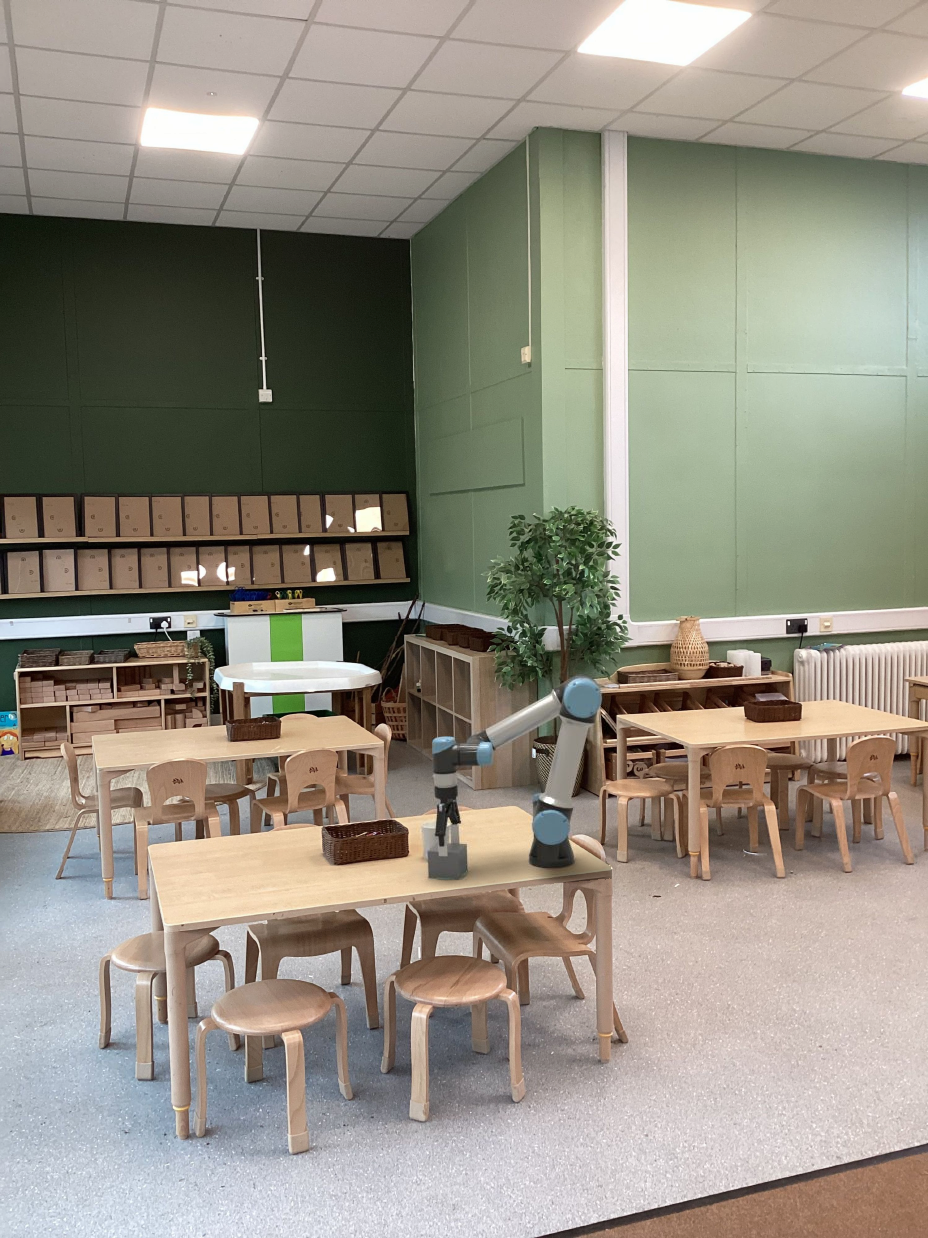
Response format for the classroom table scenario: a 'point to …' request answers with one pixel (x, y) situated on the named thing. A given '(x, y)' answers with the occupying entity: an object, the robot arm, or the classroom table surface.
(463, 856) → the grey matte cube
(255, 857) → the classroom table surface
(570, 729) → the robot arm
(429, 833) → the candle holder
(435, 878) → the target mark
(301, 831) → the classroom table surface
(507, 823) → the classroom table surface
